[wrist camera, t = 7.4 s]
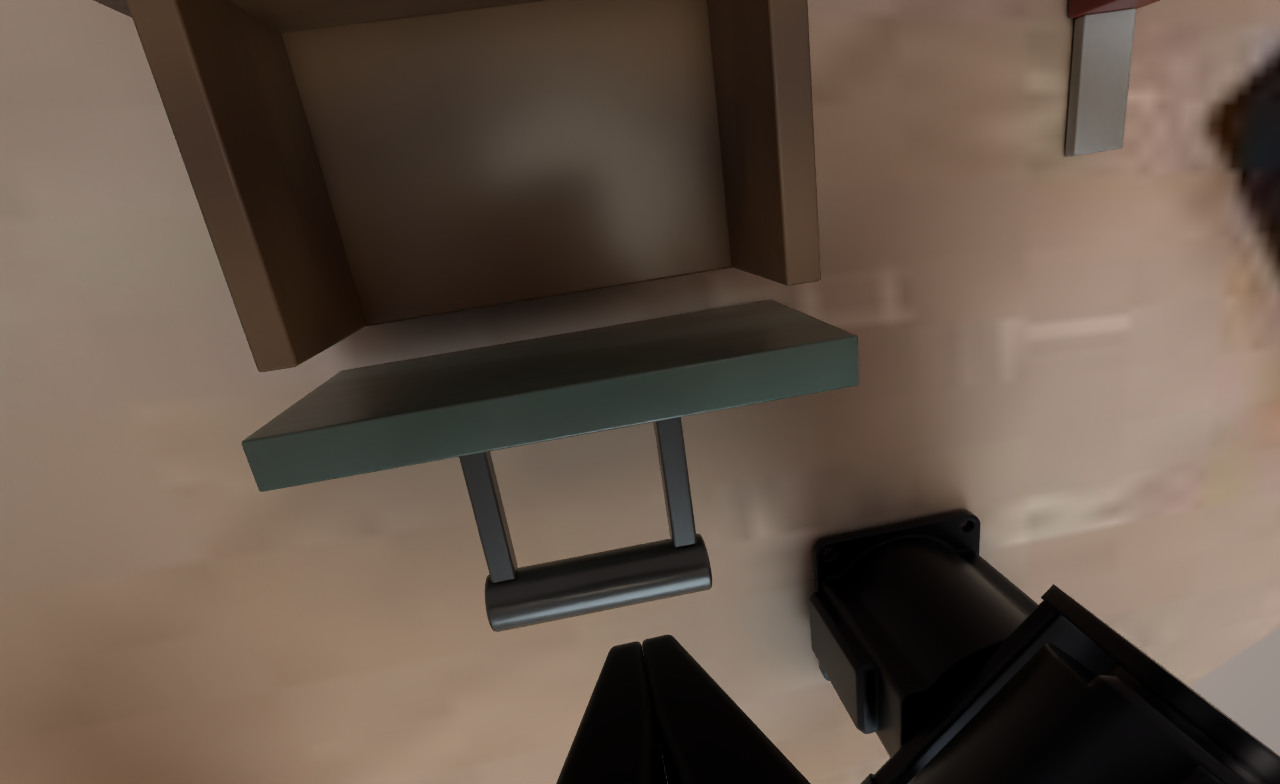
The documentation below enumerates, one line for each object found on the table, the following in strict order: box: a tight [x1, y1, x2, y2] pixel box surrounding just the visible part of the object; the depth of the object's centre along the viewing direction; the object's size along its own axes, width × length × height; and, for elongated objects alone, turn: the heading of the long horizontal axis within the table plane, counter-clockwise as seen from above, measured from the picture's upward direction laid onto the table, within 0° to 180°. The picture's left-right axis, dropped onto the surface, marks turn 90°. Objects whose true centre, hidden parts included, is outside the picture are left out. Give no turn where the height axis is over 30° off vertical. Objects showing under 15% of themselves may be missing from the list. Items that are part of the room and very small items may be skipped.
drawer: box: [126, 0, 859, 632], centre depth 15 cm, size 15×13×6 cm
